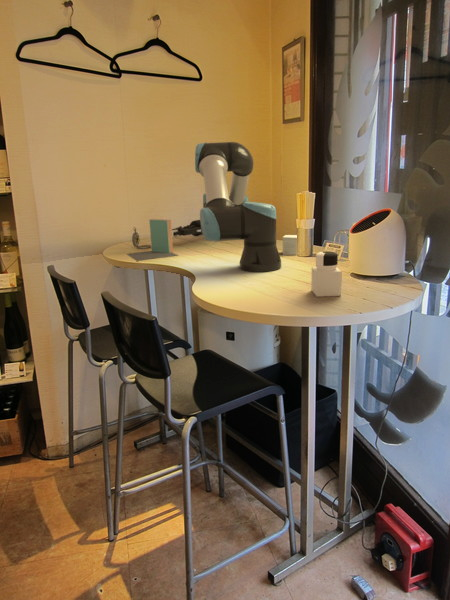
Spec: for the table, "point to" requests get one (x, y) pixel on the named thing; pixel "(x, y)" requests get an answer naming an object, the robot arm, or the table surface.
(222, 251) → the table surface
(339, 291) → the medicine bottle
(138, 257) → the mat
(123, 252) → the table surface
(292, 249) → the product box
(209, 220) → the robot arm
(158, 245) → the tile
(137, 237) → the pocket watch
